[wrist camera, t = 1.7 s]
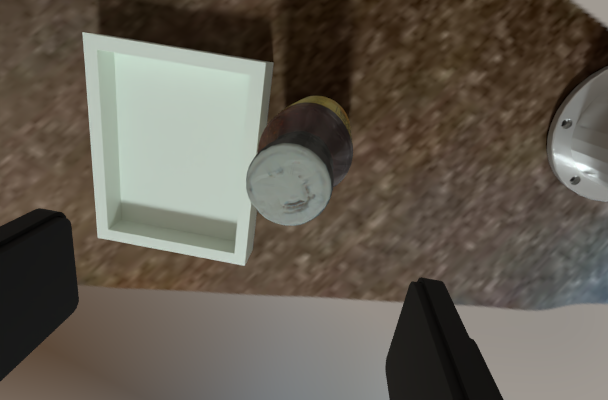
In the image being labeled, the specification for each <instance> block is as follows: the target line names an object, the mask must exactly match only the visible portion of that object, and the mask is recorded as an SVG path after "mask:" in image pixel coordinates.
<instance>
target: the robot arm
mask: <svg viewBox="0 0 608 400" xmlns="http://www.w3.org/2000/svg"><path fill="white" fill-rule="evenodd" d="M563 121H564V123H563V124H562V122H563ZM547 154H548V160H549V164H550V166H551V168H552V171H553V173H554V174H555V175H556V177H557V178H558V179H559V181H560V182H561V183H562V184H564V185H565V186H566V187H567V188H569V189H570V190H572V191H574V192H575V193H577V194H579V195H581V196H584V197H586V198H589V199H592V200H598V201H603V202H608V66H606V67H604V68H602V69H601V70H599V71H597V72H595V73H594V74H592V75H590V76H589V77H588V78H586V79H585V80H584V81H583V82H581V83H580V84H579V85H578V86H576V88H575V89H574V90H573V91H572V92H571V93H570V94H569V95H568V96H567V97H566V98H565V100H564V101H563V103H562V104H561V106H560V107H559V109H558V110H557V112H556V114H555V116H554V118H553V121H552V123H551V126H550V129H549V133H548V137H547ZM78 302H79V297H78V287H77V277H76V267H75V258H74V248H73V238H72V228H71V222H70V221H69V220H68V219H66V216H65V215H64V214H63V213H62V212H57V211H52V210H46V209H35V210H33V211H31V212H29V213H27V214H25V215H23V216H21V217H19V218H17V219H15V220H13V221H11V222H9V223H7V224H5V225H3V226H0V381H1V380H2V379H3V378H4V377H5V376H7V375H8V374H9V373H10V372H11V371H12V370H13V369H14V368H15V367H16V366H17V365H18V364H19V363H20V362H21V361H23V360H24V359H25V358H26V357H27V356H28V355H29V354H30V353H31V352H32V351H33V350H34V349H35V348H36V347H37V346H38V345H39V344H40V343H42V342H43V341H44V340H45V339H46V337H48V336H49V335H50V334H51V333H52V332H53V331H54V330H55V329H56V328H57V327H58V326H59V325H60V324H62V323H63V322H64V321H65V320H66V319H67V318H68V317H69V316H70V315H71V314H72V313H73V312H74V311H75V309H76V308H77V305H78ZM386 377H387V384H388V391H389V398H390V400H503V398H502V396H501V394H500V392H499V389H498V387H497V385H496V383H495V381H494V379H493V377H492V375H491V373H490V371H489V369H488V367H487V365H486V363H485V361H484V358H483V357H482V354H481V352H480V350H479V348H478V346H477V344H476V343H475V341H474V340H473V339H471V338H469V336H468V333H467V332H466V329H465V327H464V325H463V323H462V321H461V319H460V316H459V314H458V312H457V310H456V308H455V306H454V303H453V301H452V299H451V297H450V295H449V293H448V291H447V289H446V286H445V284H444V283H443V282H442V281H438V280H432V279H427V278H419V279H418V281H417V282H413V281H412V282H411V283H410V285H409V288H408V291H407V295H406V298H405V301H404V304H403V307H402V311H401V314H400V317H399V320H398V323H397V327H396V330H395V333H394V336H393V339H392V342H391V346H390V349H389V352H388V355H387V359H386Z"/></svg>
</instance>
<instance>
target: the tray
mask: <svg viewBox="0 0 608 400" xmlns="http://www.w3.org/2000/svg"><path fill="white" fill-rule="evenodd" d="M83 45H84V59H85V72H86V86H87V99H88V113H89V126H90V140H91V153H92V167H93V180H94V194H95V207H96V220H97V234H98V238H103V239H108V240H113V241H118V242H123V243H129V244H134V245H139V246H144V247H150V248H155V249H160V250H165V251H171V252H176V253H181V254H186V255H192V256H197V257H202V258H207V259H213V260H218V261H223V262H228V263H233V264H239V265H244V266H245V264H246V262H247V260H248V258H249V256H250V254H251V252H252V250H253V242H254V233H255V225H256V216H257V209H256V208H255V207H254V206H253V205H252V203H251V201H250V199H249V197H248V194H247V190H246V177H247V171H248V168H249V166H250V164H251V162H252V160H253V159H254V157H255V156H256V155H257V154H258V153H257V151H258V145H259V141H260V138H261V135H262V133H263V131H264V129H265V128H266V126H267V117H268V108H269V99H270V90H271V81H272V72H273V62H267V61H261V60H255V59H249V58H243V57H237V56H231V55H225V54H219V53H213V52H207V51H201V50H195V49H189V48H183V47H177V46H171V45H165V44H159V43H153V42H147V41H140V40H134V39H128V38H122V37H116V36H110V35H102V34H93V33H84V32H83Z"/></svg>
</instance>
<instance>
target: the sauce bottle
mask: <svg viewBox="0 0 608 400" xmlns="http://www.w3.org/2000/svg"><path fill="white" fill-rule="evenodd" d="M257 153H258V154H257V155H256V156H255V157H254V159H253V160H252V162H251V164H250V166H249V168H248V171H247V177H246V190H247V194H248V197H249V199H250V201H251V203H252V205H253V206H254V207H255V208H256V209H257V211H258V212H259V213H260V214H262V215H263V216H264V217H265V218H266V219H268V220H270V221H272V222H274V223H278V224H281V225H294V226H295V225H301V224H304V223H306V222H308V221H310V220H312V219H313V218H315V217H317V216H318V215H319V214H320V213H321V212H322V211H323V210H324V208H325V207H326V205H327V204H328V202H329V200H330V197H331V194H332V190H333V187H335V186H336V185H337V184H339V183H340V182H341V181H342V180H343V178H344V177H345V176H346V174H347V173H348V171H349V168H350V166H351V163H352V157H353V144H352V137H351V130H350V123H349V119H348V117H347V114H346V113H345V111H344V109H343V108H342V107H341V106H340V105H339V104H338V103H337V102H335V101H334V100H332V99H330V98H327V97H323V96H309V97H306V98H303V99H301V100H299V101H298V102H296V103H294V104H292V105H290V106H289V107H287V108H285V109H284V110H282V111H281V112H280V113H278V114H277V115H276V116H275V117H274V118H273V119H272V120H271V121H270V122H269V123H268V125H267V126H266V128H265V129H264V131H263V133H262V135H261V138H260V141H259V145H258V151H257Z"/></svg>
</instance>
